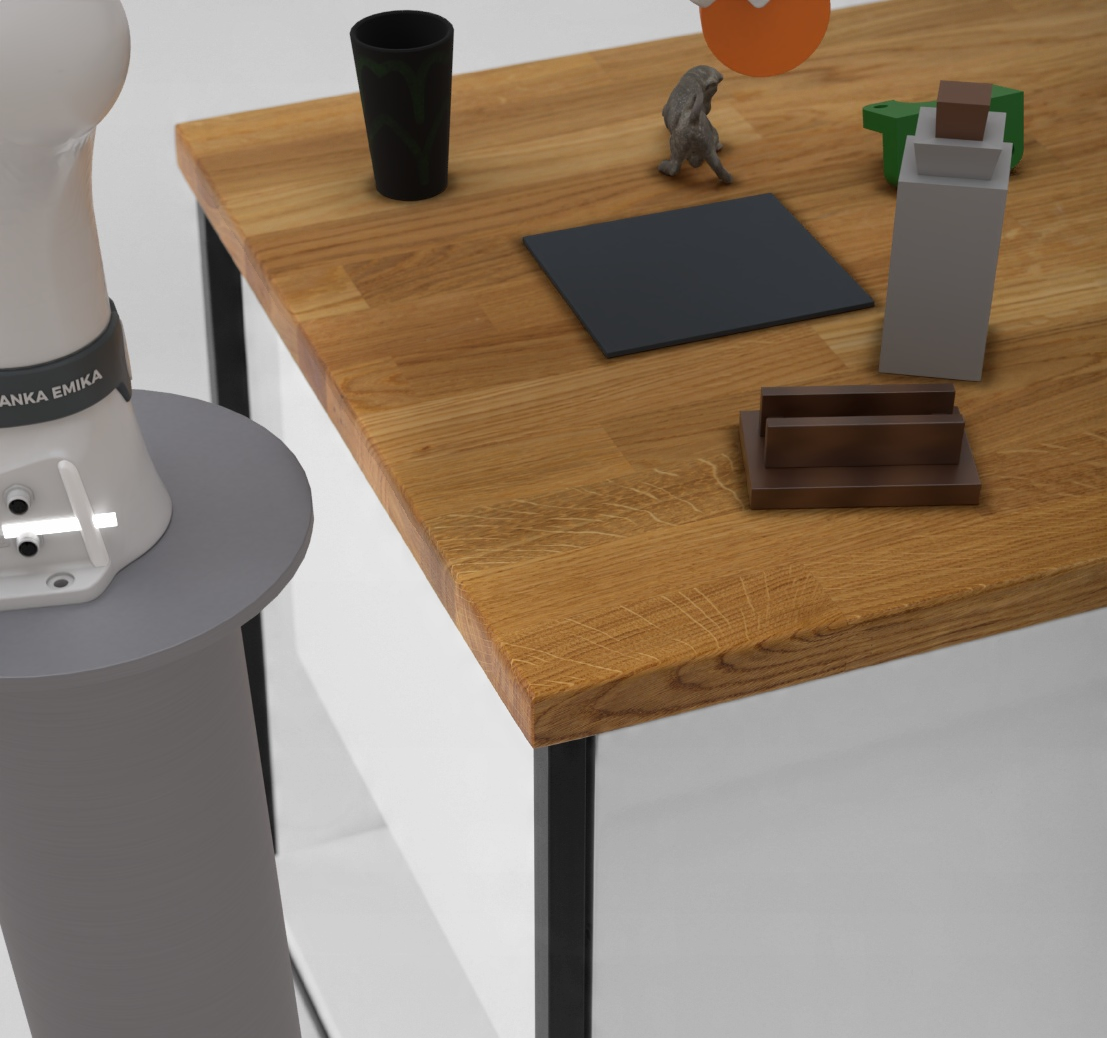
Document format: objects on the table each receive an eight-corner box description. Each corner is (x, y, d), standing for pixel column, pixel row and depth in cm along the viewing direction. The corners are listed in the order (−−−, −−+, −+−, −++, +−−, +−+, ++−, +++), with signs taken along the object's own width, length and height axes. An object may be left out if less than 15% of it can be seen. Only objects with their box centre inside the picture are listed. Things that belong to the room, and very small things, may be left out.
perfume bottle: (985, 331, 142) (1022, 74, 129) (980, 381, 137) (1017, 119, 125) (887, 322, 143) (914, 66, 131) (878, 372, 138) (905, 111, 126)
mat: (607, 358, 140) (607, 353, 140) (522, 241, 152) (522, 236, 152) (874, 306, 144) (874, 301, 144) (770, 197, 157) (771, 192, 157)
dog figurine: (733, 194, 157) (737, 100, 152) (657, 194, 158) (659, 100, 153) (729, 127, 166) (733, 35, 161) (658, 126, 166) (660, 35, 161)
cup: (477, 172, 161) (471, 18, 153) (433, 213, 156) (425, 57, 148) (390, 155, 163) (379, 3, 155) (344, 196, 158) (330, 41, 150)
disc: (691, 70, 129) (712, -60, 124) (689, 57, 131) (710, -72, 125) (816, 84, 130) (843, -45, 125) (813, 71, 132) (839, -57, 126)
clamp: (960, 203, 165) (997, 86, 162) (1002, 216, 160) (1041, 96, 157) (837, 169, 160) (873, 48, 157) (876, 181, 155) (915, 57, 152)
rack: (750, 509, 126) (754, 446, 123) (738, 430, 133) (741, 368, 130) (978, 504, 126) (988, 441, 123) (955, 425, 133) (963, 364, 130)
